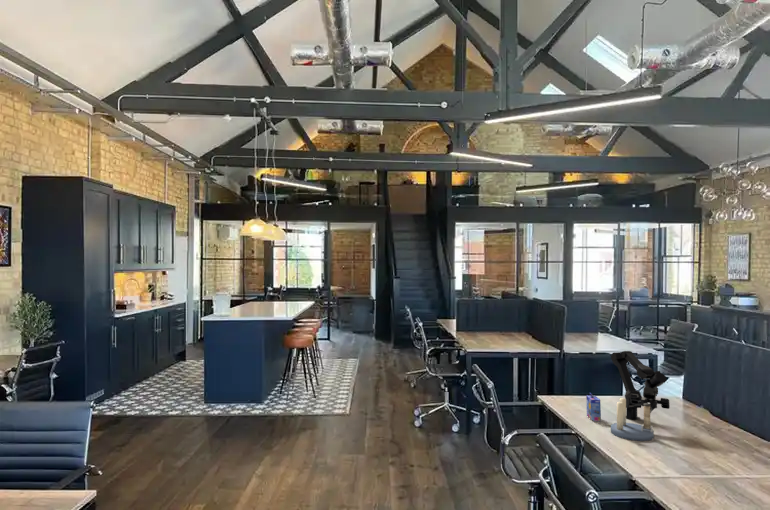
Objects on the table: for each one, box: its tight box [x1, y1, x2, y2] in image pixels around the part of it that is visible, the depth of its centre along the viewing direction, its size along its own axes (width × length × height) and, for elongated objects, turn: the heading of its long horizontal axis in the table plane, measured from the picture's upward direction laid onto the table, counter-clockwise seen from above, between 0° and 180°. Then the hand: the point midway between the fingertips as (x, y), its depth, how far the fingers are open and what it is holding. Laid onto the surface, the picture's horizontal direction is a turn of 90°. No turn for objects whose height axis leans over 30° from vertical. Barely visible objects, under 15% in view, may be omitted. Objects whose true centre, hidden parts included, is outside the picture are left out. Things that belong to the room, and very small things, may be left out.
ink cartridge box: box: [585, 392, 602, 422], centre depth 292 cm, size 10×6×14 cm, turn 174°
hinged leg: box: [643, 403, 651, 430], centre depth 261 cm, size 3×3×13 cm
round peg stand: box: [610, 397, 655, 442], centre depth 265 cm, size 20×20×16 cm
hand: (647, 415), depth 268 cm, fingers closed
